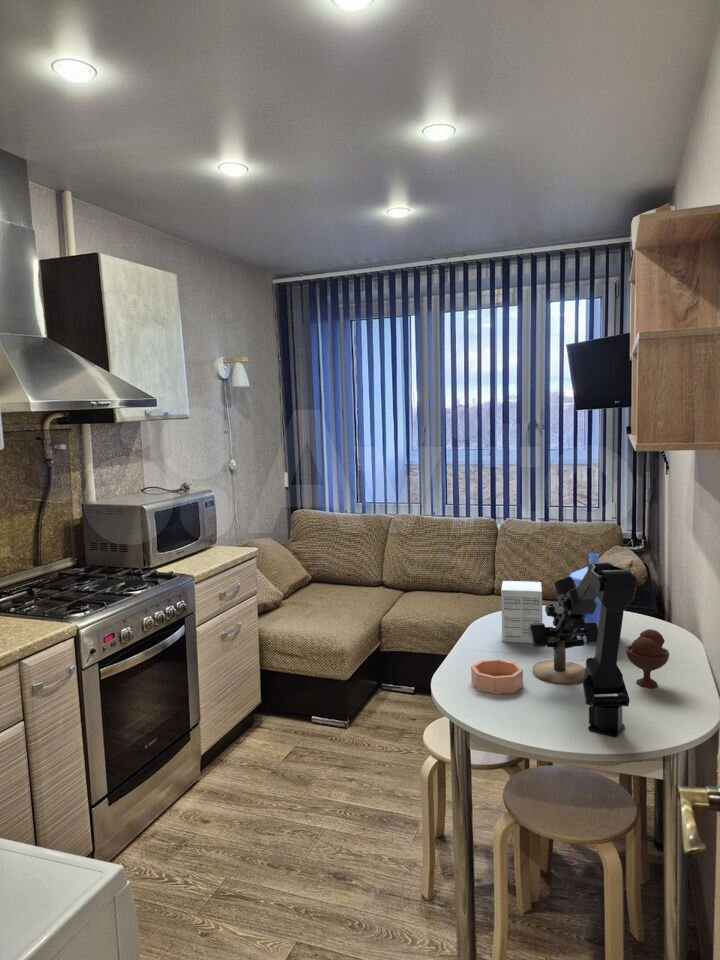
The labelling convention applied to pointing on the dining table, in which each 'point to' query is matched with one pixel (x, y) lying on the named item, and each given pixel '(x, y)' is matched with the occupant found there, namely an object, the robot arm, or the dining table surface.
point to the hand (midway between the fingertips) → (558, 647)
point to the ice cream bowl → (648, 655)
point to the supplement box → (520, 609)
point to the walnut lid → (559, 668)
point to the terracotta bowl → (497, 676)
